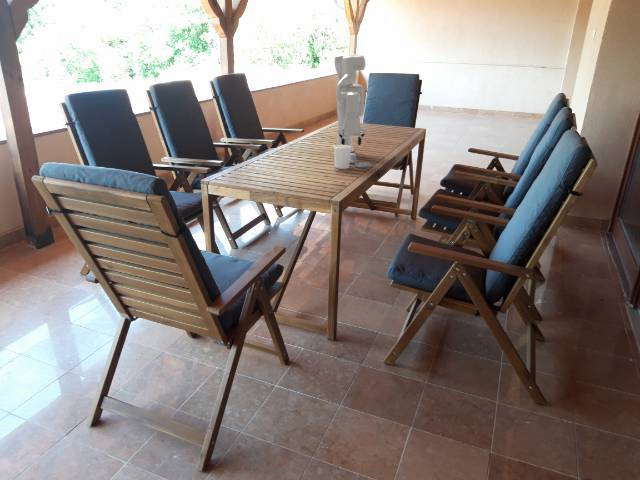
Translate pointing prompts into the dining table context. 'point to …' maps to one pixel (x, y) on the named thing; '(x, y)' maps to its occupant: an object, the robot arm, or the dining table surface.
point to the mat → (362, 165)
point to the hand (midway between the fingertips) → (351, 145)
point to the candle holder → (342, 156)
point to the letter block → (352, 158)
